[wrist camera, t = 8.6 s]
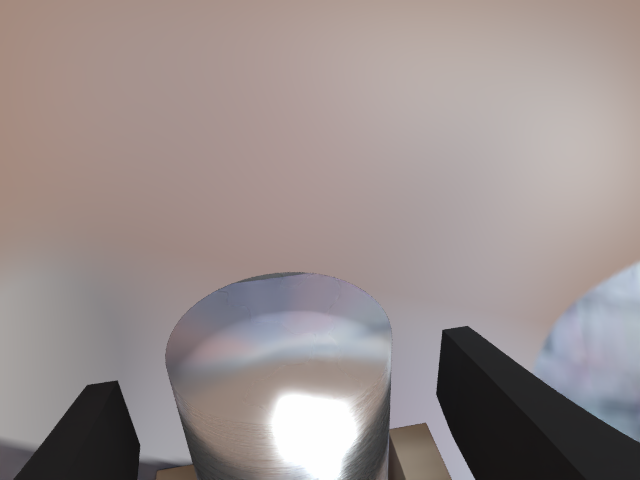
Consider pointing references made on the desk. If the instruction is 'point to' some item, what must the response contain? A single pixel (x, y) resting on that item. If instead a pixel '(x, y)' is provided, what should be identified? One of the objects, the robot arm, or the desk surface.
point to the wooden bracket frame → (403, 459)
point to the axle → (284, 380)
